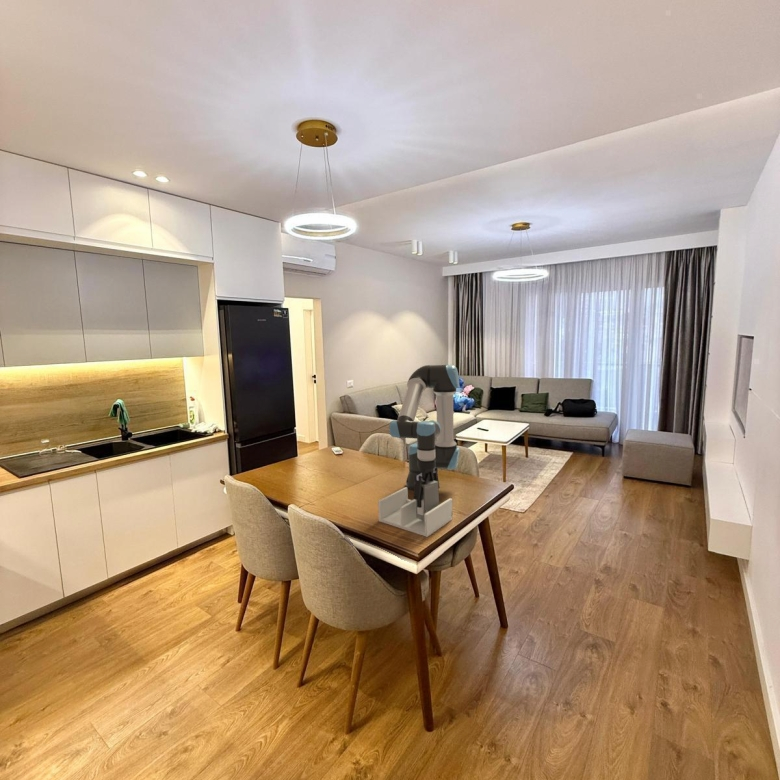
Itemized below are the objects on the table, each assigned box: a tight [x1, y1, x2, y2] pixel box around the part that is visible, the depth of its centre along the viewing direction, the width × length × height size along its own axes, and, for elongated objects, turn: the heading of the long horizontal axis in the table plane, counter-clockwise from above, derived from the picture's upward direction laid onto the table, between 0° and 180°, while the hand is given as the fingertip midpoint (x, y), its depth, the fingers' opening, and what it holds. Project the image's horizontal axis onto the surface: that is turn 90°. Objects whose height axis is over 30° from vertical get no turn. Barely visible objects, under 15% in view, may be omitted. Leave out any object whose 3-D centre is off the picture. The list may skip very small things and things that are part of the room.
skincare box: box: [416, 480, 440, 522], centre depth 172 cm, size 8×7×16 cm
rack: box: [377, 486, 453, 538], centre depth 176 cm, size 20×25×9 cm
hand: (427, 510), depth 172 cm, fingers closed on skincare box, 9 cm apart
